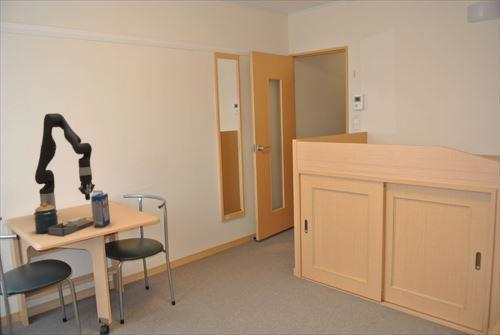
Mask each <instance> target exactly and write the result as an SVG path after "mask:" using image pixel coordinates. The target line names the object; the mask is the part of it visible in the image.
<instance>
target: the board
mask: <svg viewBox="0 0 500 335" xmlns="http://www.w3.org/2000/svg"><path fill="white" fill-rule="evenodd" d="M63 225H64V228H66V227H69V226H68V223H66V224H63ZM91 226H94V220H87V219H86V222H84V223H81V224H78V225H77V230H78V231H81V230H83V229H87V228H89V227H91ZM78 231H77V232H78Z"/></svg>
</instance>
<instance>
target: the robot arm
mask: <svg viewBox="0 0 500 335" xmlns="http://www.w3.org/2000/svg"><path fill="white" fill-rule="evenodd" d="M54 128H60V129H61V130H63V136H64V138H65V140H66V141H67V142H68V143H69V145H71V148H72V149H73V151H74V153H75V154H77V155H82V156H81V157H80V158H78V161H77V162H78V176H79V182H80V187H78V188H77V189H78V190H79V192H80V193H81V194H82V195H84V199H85V201H91V193H92V194H93V190H94V188H95V186H96V185H95V184H93V182H92V181H93V175H92V173H93V172H92V166H91V156H92V151H93V149H92V148H93V147H92V145H91V144H90V143H89V142H82V139H81V137H80V136H79V135H78V134H77V133H75V131H74V130H73V129H72V128H71V126H70V124H69V123H68V121H67V120H66V118H64V116H63V115H62V114H60V113H46V114H45V116H44V118H43V129H42V130H43V131H42V140H41V145H40V149H39V150H40V152H39V159H38V164H37V167H36V171H35V174H34V180H35V183H36V184H37V185H43V186H42V187H41V188H40V189H39V191H38V192H39V199H40V204H39V206H42V204H43V203H46V204H47V205H52V206H54V207H55V210H57V208H56V207H57V205H56V197H55V196H56V195H55V185H56V184H55V183H56V182H55V174H54V172H53V171H52V170H50V169H47V168H48V166H49V164H50V162H52V160H53V159H54V158H55V155H56V151H57V144H56V141H55V139H54V137H53V129H54Z"/></svg>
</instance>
